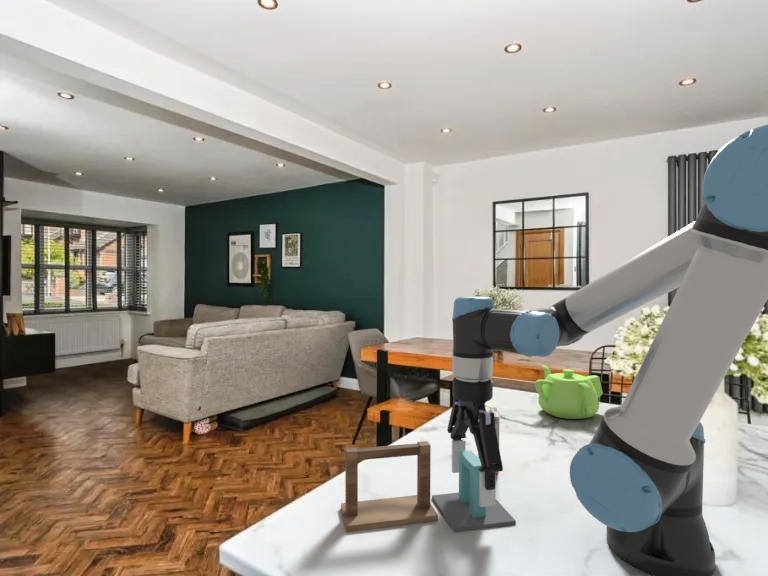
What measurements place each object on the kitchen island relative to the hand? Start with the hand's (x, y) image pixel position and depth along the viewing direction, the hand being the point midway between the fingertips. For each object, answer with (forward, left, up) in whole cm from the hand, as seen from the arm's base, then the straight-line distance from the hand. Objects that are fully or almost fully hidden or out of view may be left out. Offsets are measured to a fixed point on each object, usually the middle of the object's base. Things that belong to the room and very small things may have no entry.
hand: (471, 487), depth 85 cm
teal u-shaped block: (0, 0, -4) cm, 4 cm away
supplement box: (+18, -12, -5) cm, 22 cm away
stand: (+2, +16, -4) cm, 17 cm away
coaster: (0, 0, -4) cm, 4 cm away
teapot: (+51, -55, -5) cm, 75 cm away
